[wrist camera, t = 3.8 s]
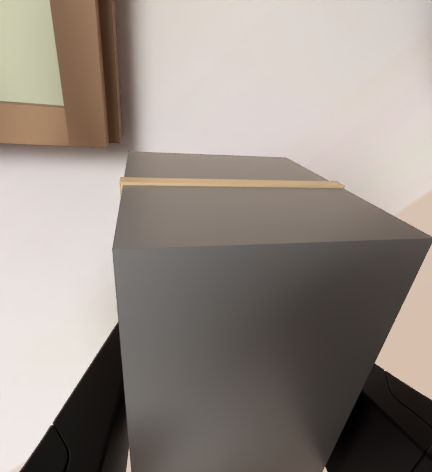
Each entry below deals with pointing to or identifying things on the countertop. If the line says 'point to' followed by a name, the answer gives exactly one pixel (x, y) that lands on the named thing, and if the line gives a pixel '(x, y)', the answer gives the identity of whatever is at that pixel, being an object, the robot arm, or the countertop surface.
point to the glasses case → (249, 309)
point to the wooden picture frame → (59, 73)
